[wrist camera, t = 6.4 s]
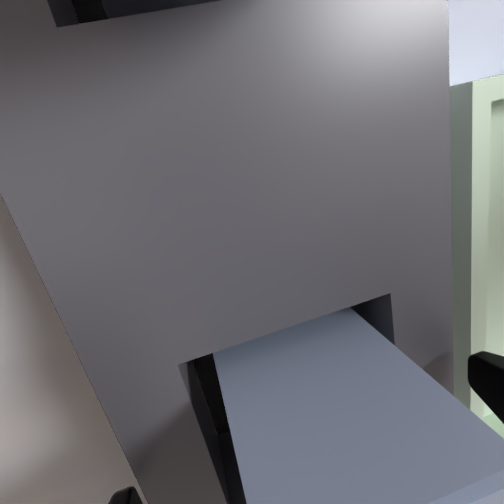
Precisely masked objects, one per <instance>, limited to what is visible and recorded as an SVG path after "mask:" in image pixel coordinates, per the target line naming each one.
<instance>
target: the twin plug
mask: <svg viewBox="0 0 504 504" xmlns="http://www.w3.org/2000/svg"><path fill="white" fill-rule="evenodd" d="M100 1H101V4H102V6H103V8H104V10H105V13H106V15H107V17H108V19H112V18H118V17H124V16H130V15H136V14H142V13H148V12H154V11H160V10H166V9H172V8H178V7H184V6H190V5H196V4H202V3H208V2H215V1H221V0H100Z"/></svg>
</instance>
